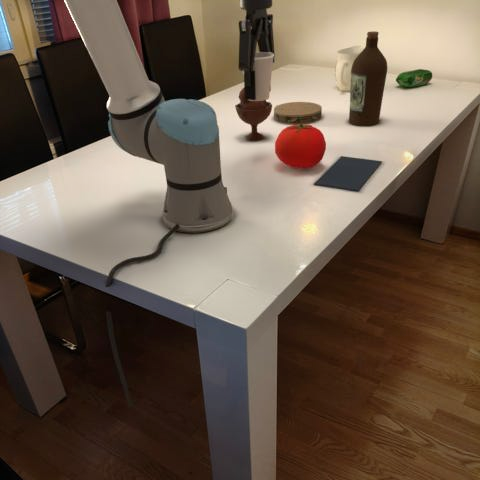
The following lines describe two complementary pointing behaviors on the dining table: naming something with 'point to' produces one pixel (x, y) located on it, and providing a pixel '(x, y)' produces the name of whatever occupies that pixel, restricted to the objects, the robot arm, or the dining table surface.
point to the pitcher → (346, 66)
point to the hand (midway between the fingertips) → (258, 95)
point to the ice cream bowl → (253, 114)
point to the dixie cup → (262, 74)
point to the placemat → (348, 173)
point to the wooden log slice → (297, 113)
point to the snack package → (414, 78)
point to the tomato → (300, 146)
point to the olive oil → (367, 83)
